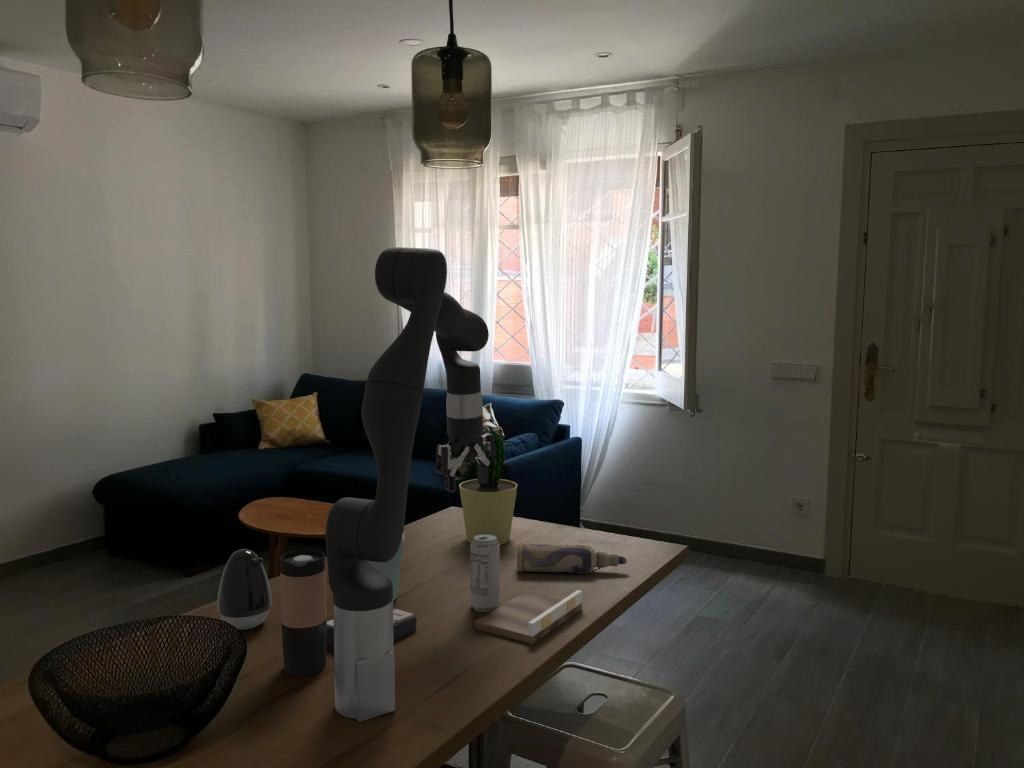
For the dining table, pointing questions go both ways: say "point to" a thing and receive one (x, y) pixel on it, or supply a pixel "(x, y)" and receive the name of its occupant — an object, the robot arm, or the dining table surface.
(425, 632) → the dining table surface
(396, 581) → the disposable coffee cup
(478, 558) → the energy drink can
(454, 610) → the dining table surface
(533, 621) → the price rail
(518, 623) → the shelf board
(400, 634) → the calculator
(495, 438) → the potted cactus
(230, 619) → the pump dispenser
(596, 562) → the decorative bottle
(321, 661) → the travel mug
